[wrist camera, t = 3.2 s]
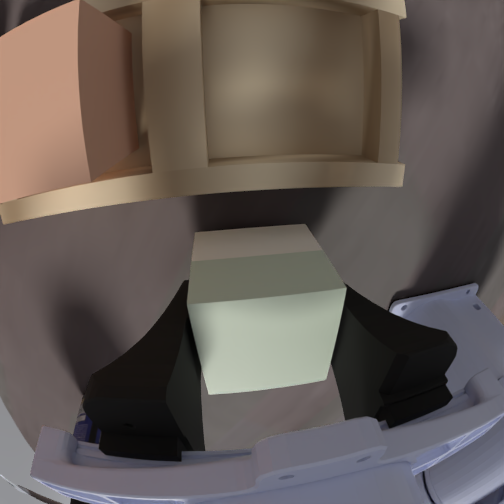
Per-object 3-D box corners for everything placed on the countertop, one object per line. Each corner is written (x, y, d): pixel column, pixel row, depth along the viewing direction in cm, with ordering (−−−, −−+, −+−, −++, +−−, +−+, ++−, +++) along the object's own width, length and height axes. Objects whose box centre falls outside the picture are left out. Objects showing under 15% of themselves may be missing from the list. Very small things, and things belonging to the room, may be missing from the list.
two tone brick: (305, 223, 13) (346, 287, 9) (299, 307, 16) (326, 379, 11) (195, 232, 13) (186, 304, 8) (207, 316, 15) (208, 394, 11)
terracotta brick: (131, 33, 8) (79, -2, 4) (139, 147, 11) (91, 182, 6) (31, 66, 8) (-44, 68, 3) (41, 169, 10) (-27, 211, 6)
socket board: (373, 7, 9) (403, -5, 7) (372, 174, 13) (401, 191, 11) (12, 48, 7) (-19, 46, 5) (31, 206, 12) (4, 228, 10)
